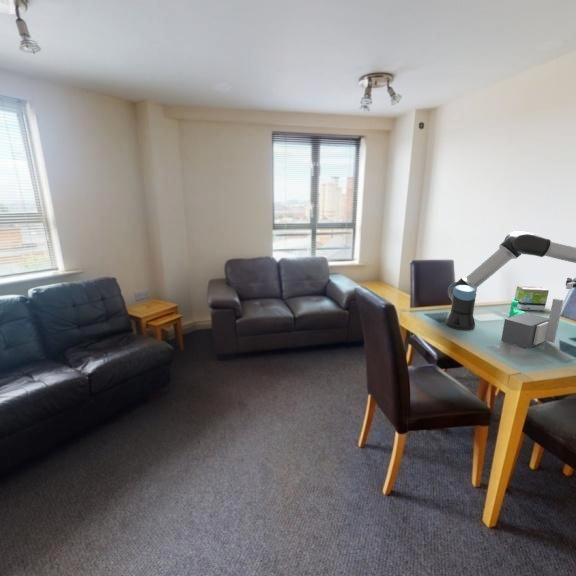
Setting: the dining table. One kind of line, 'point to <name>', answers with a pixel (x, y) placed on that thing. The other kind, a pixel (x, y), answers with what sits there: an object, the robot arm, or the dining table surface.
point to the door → (549, 324)
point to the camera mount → (514, 312)
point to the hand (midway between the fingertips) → (568, 286)
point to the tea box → (531, 297)
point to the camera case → (521, 329)
